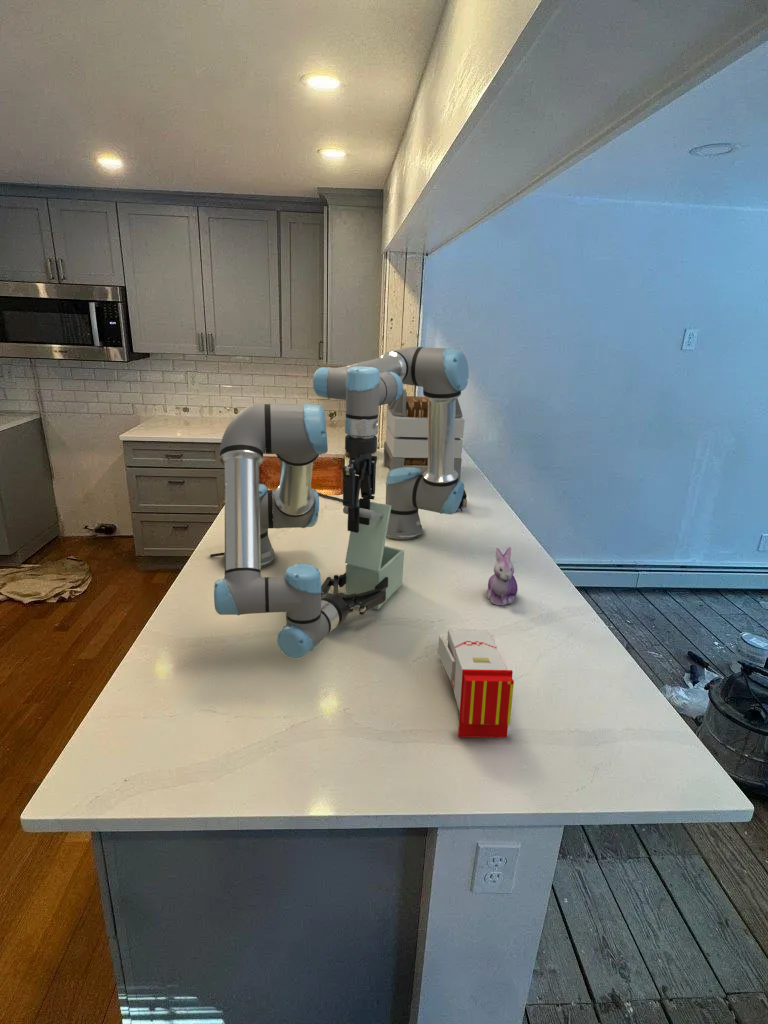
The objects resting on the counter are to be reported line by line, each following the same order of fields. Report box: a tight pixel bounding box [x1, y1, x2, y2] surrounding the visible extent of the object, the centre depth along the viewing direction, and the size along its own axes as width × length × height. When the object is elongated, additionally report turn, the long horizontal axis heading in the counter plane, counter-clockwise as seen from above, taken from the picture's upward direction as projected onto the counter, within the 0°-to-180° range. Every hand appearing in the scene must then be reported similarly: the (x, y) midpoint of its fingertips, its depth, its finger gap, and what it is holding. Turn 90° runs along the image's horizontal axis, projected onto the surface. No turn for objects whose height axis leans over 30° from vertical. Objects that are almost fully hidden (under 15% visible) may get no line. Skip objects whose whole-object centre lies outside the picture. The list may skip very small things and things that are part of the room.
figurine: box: [486, 546, 518, 606], centre depth 155 cm, size 9×10×15 cm
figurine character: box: [457, 489, 468, 512], centre depth 228 cm, size 7×8×15 cm
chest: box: [345, 545, 405, 610], centre depth 156 cm, size 16×10×11 cm, turn 155°
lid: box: [342, 500, 391, 571], centre depth 143 cm, size 17×10×9 cm
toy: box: [437, 628, 515, 738], centre depth 117 cm, size 12×13×30 cm
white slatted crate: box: [383, 388, 465, 481], centre depth 268 cm, size 34×33×41 cm
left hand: (369, 577), depth 152 cm, fingers closed on chest, 10 cm apart
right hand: (358, 527), depth 141 cm, fingers open, 5 cm apart
